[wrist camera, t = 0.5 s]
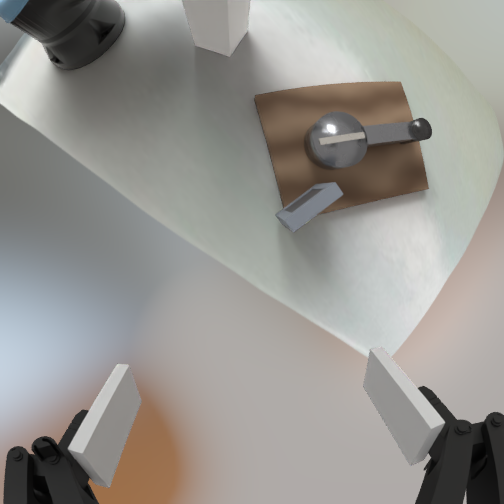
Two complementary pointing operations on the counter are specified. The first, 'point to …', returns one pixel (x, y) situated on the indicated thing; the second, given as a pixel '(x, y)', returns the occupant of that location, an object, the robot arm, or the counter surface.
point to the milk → (217, 23)
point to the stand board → (349, 178)
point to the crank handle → (356, 138)
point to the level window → (308, 205)
